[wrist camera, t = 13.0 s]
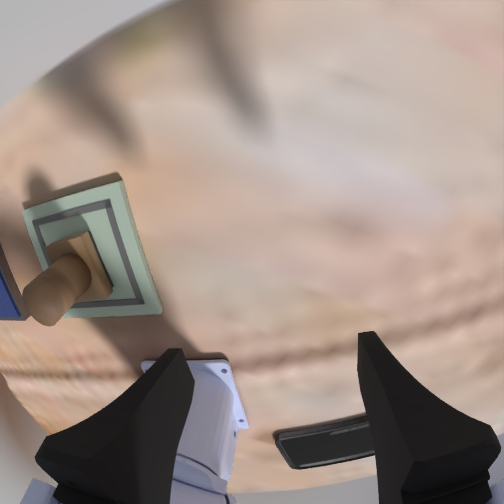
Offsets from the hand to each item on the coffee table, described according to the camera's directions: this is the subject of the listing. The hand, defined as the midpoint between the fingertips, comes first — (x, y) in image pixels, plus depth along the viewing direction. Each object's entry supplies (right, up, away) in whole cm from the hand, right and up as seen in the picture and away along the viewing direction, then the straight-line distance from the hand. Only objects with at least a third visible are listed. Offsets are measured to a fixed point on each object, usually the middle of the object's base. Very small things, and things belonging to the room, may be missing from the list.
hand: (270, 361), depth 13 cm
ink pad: (-27, +1, +13) cm, 30 cm away
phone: (+10, -15, +17) cm, 25 cm away
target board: (-13, +4, +10) cm, 17 cm away
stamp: (-13, +4, +9) cm, 17 cm away
